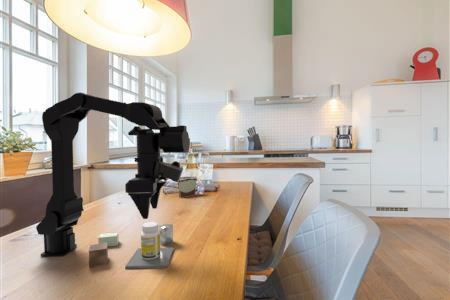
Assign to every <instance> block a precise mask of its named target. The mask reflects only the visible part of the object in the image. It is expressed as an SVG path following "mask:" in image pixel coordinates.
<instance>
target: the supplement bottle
mask: <svg viewBox="0 0 450 300" xmlns="http://www.w3.org/2000/svg"><path fill="white" fill-rule="evenodd" d="M141 229H142V231H141V232H140V243H141V244H140V245H141V247H140V248H141V253H142V258H143V259H145V260H153V259H156V258H158V257H159V256H160V248H161V245H160V231H159V222H156V221H149V222H145V223H143V224H142V227H141Z"/></svg>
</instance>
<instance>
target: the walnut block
mask: <svg viewBox="0 0 450 300" xmlns="http://www.w3.org/2000/svg"><path fill="white" fill-rule="evenodd" d="M108 247H109V246H108V245H107V243H102V244H99V243H96V244H90V245H89V249H88V267H89V268H91V267H97V266H102V265H103V266H105V265H108V262H109V261H108V260H109V252H108V251H109V250H108V249H109V248H108Z"/></svg>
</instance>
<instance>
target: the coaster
mask: <svg viewBox="0 0 450 300" xmlns="http://www.w3.org/2000/svg"><path fill="white" fill-rule="evenodd" d="M174 250H175V247H174V246H173V247H160V256H159V257H158V258H156V259H153V260H145V259H143V258H142V253H141V247H140V248H137V249H136V250H135V252H134V253H133V255H132V256H131V257H130V258H129V260H128V262H127V263H126V264H125V266H124V268H125V269H128V270H129V269H131V270H132V269H155V268H158V269H161V268H165V269H166V268H168V266H169V264H170V261H171V258H172V256H173V253H174Z"/></svg>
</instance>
